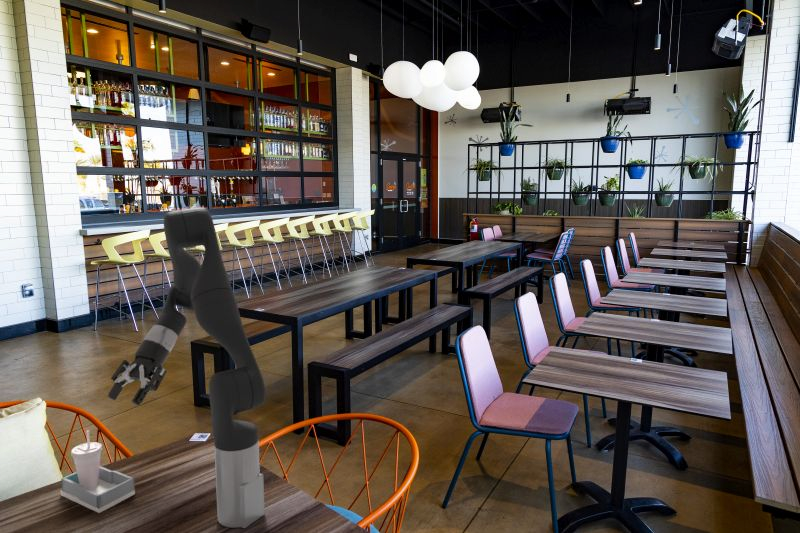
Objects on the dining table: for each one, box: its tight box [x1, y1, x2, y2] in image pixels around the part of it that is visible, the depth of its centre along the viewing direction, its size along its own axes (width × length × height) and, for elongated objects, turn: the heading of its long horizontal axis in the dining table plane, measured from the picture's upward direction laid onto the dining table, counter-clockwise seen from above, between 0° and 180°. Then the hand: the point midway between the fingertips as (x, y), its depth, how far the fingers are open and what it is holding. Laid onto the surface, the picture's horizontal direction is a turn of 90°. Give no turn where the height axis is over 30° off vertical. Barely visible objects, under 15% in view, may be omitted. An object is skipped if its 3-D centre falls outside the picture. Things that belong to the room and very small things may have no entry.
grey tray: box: [60, 465, 136, 514], centre depth 126 cm, size 15×9×4 cm, turn 61°
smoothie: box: [70, 429, 103, 490], centre depth 127 cm, size 6×6×14 cm
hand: (123, 401), depth 136 cm, fingers open, 8 cm apart
